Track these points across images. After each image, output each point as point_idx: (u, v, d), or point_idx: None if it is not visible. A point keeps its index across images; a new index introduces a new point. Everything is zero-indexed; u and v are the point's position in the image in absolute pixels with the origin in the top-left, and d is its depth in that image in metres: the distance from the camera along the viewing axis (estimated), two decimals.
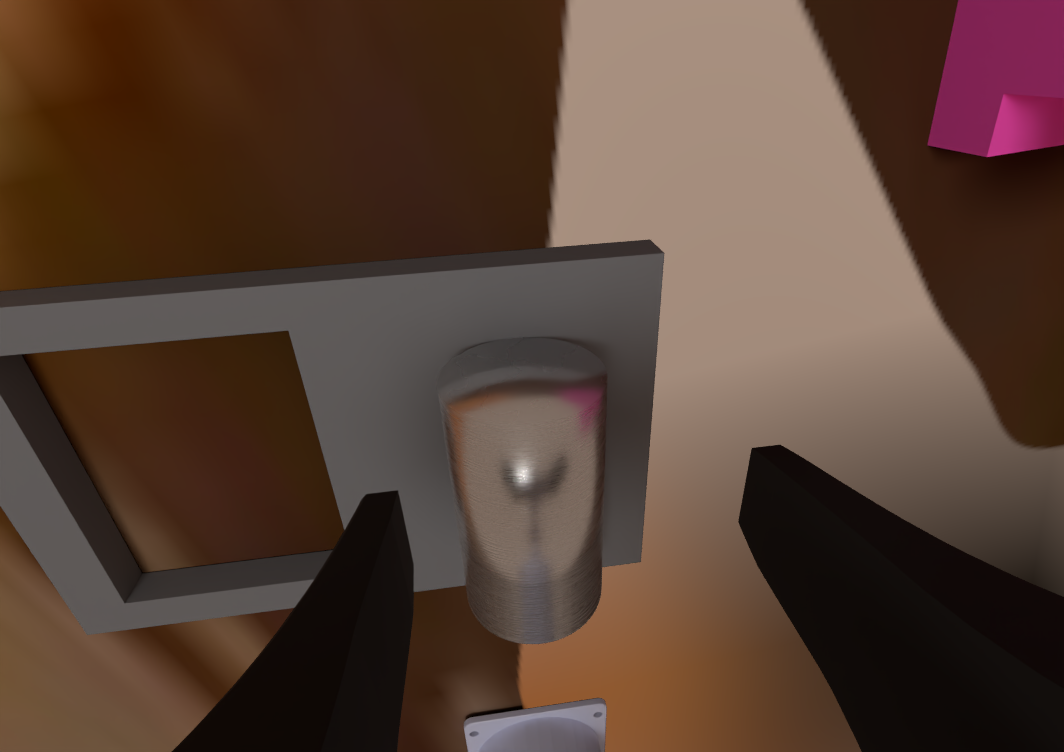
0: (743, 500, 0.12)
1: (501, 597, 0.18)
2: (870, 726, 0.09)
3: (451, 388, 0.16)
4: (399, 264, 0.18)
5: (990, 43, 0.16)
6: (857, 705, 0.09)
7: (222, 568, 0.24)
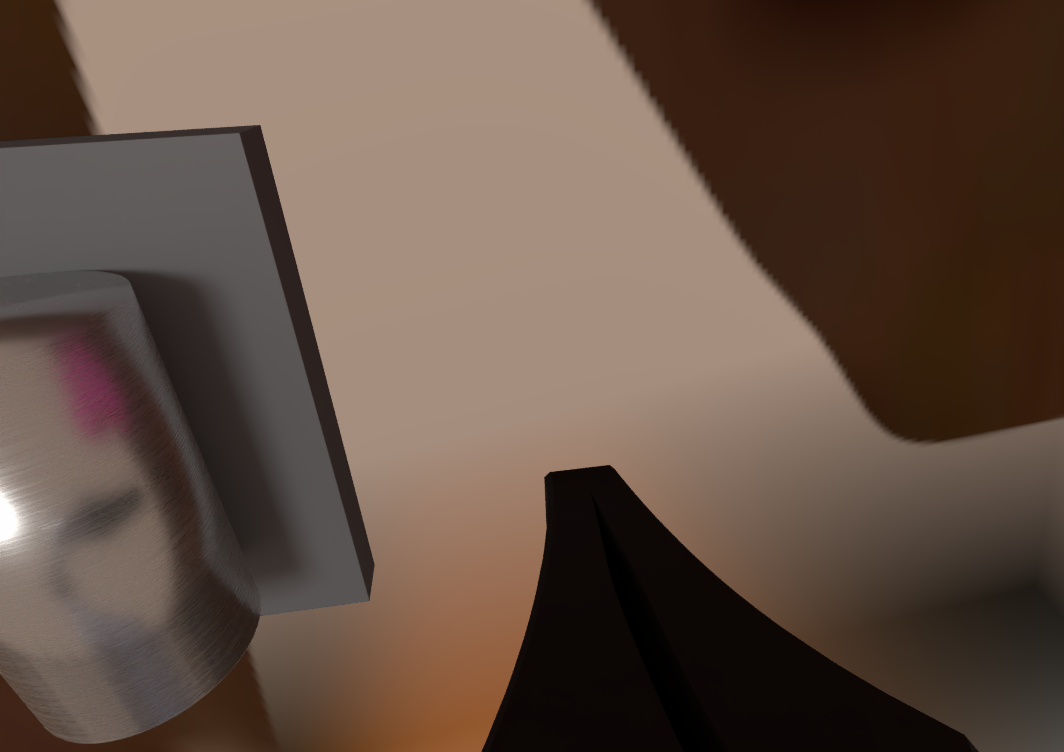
0: None
1: (18, 682, 0.12)
2: None
3: None
4: None
5: None
6: None
7: None
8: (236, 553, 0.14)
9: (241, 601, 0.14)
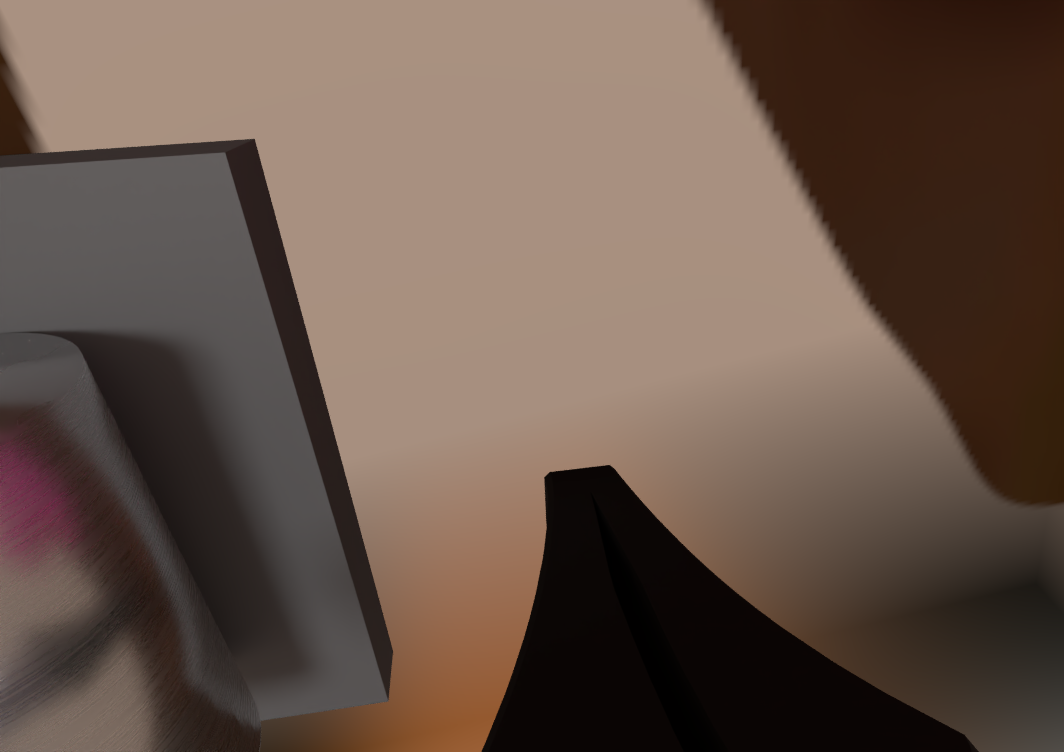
0: None
1: None
2: None
3: None
4: None
5: None
6: None
7: None
8: (230, 676, 0.11)
9: (237, 737, 0.11)
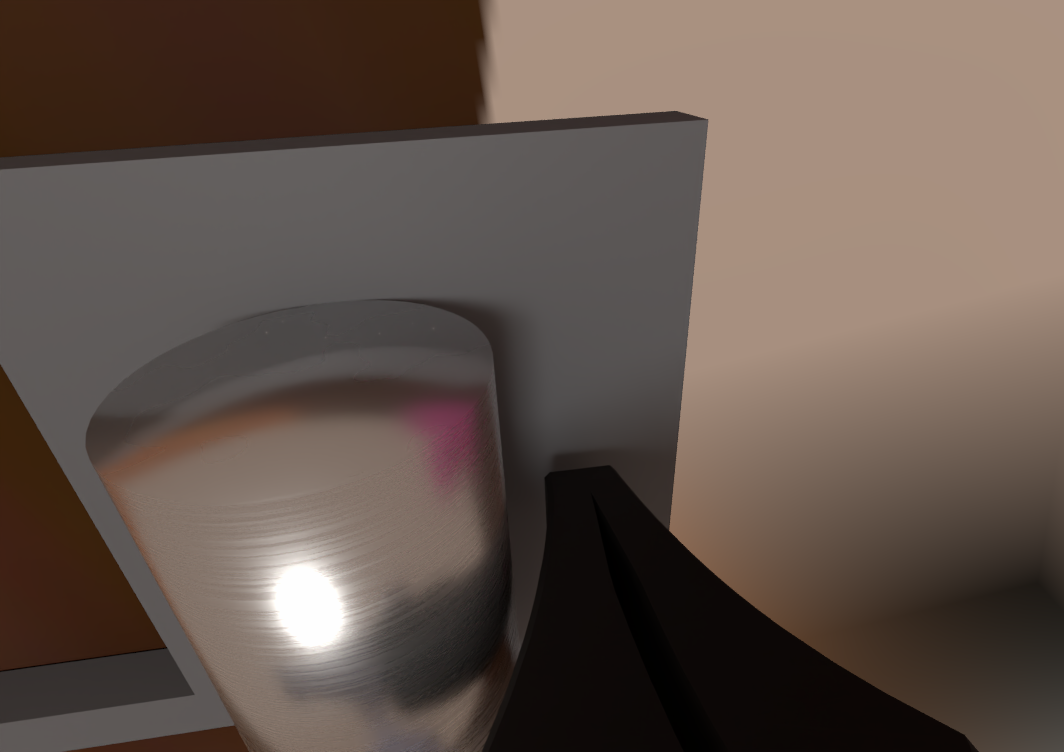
0: None
1: None
2: None
3: (175, 362, 0.08)
4: (184, 148, 0.09)
5: None
6: None
7: None
8: None
9: None
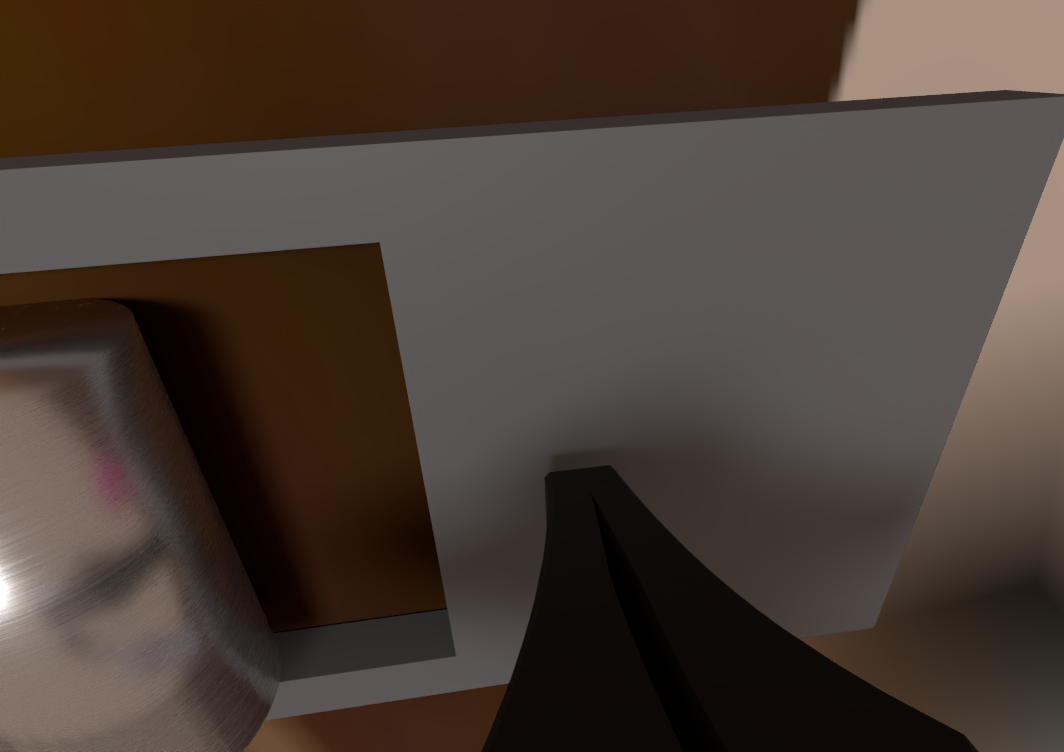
0: None
1: None
2: None
3: None
4: (581, 121, 0.10)
5: None
6: None
7: None
8: (254, 609, 0.13)
9: (260, 664, 0.13)
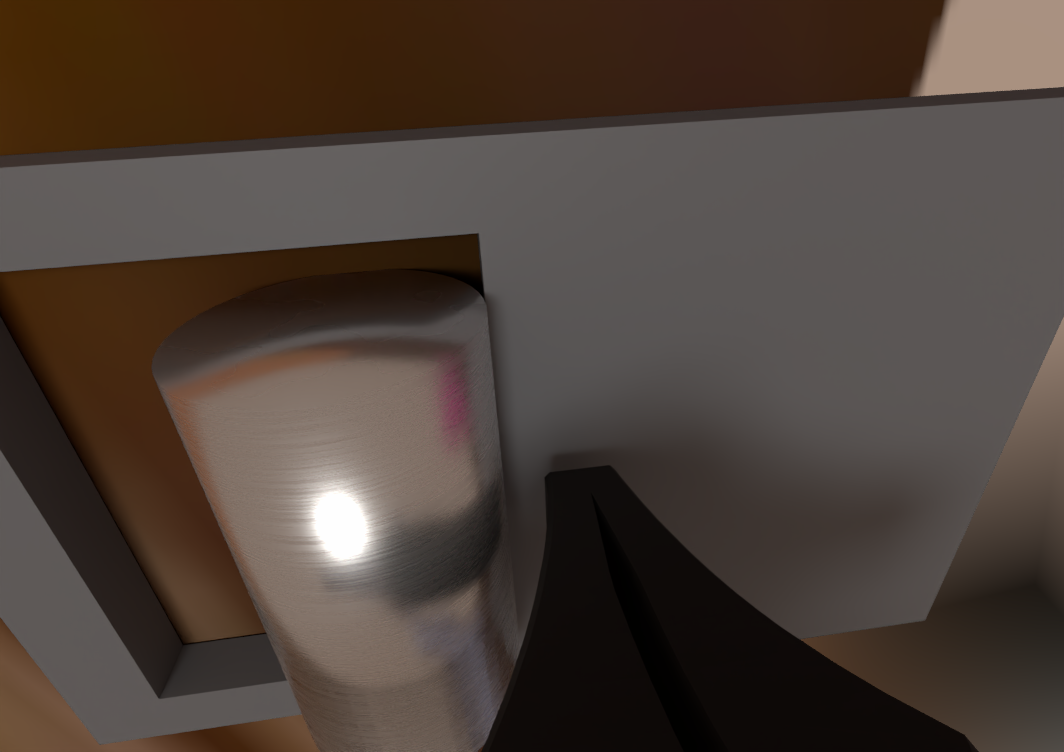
0: None
1: (513, 618, 0.12)
2: None
3: (374, 374, 0.08)
4: (673, 115, 0.10)
5: None
6: None
7: None
8: None
9: None
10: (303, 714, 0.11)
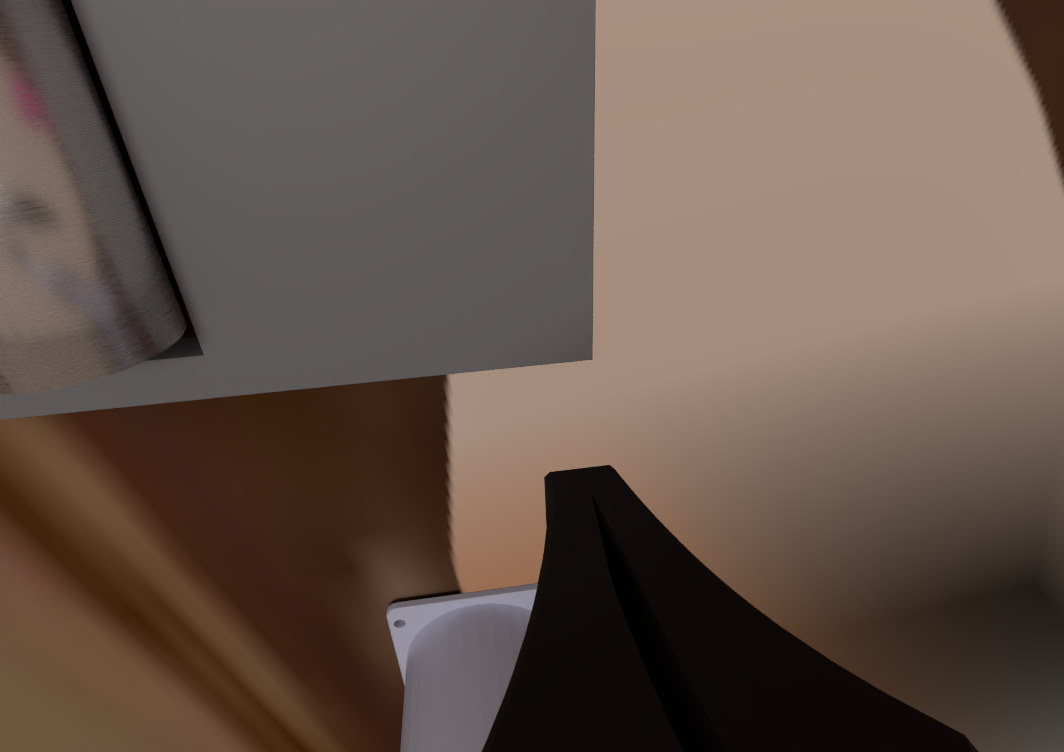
0: None
1: (134, 275, 0.14)
2: None
3: None
4: None
5: None
6: None
7: None
8: None
9: None
10: None
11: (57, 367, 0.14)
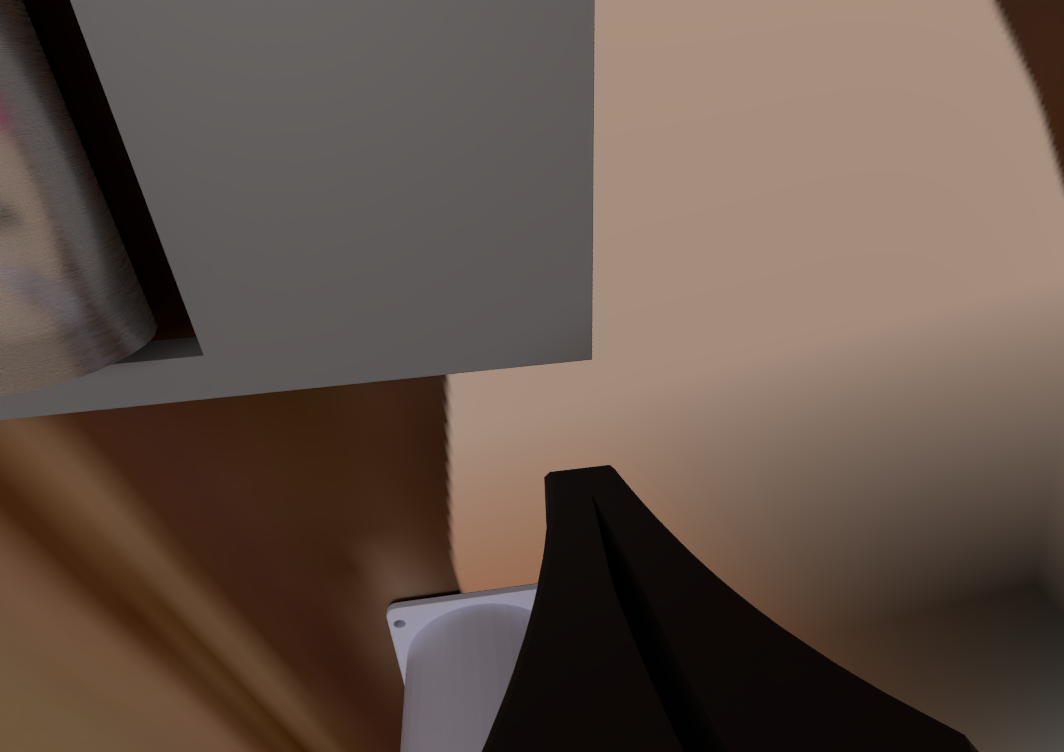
0: None
1: (67, 290, 0.14)
2: None
3: None
4: None
5: None
6: None
7: None
8: None
9: None
10: None
11: None
